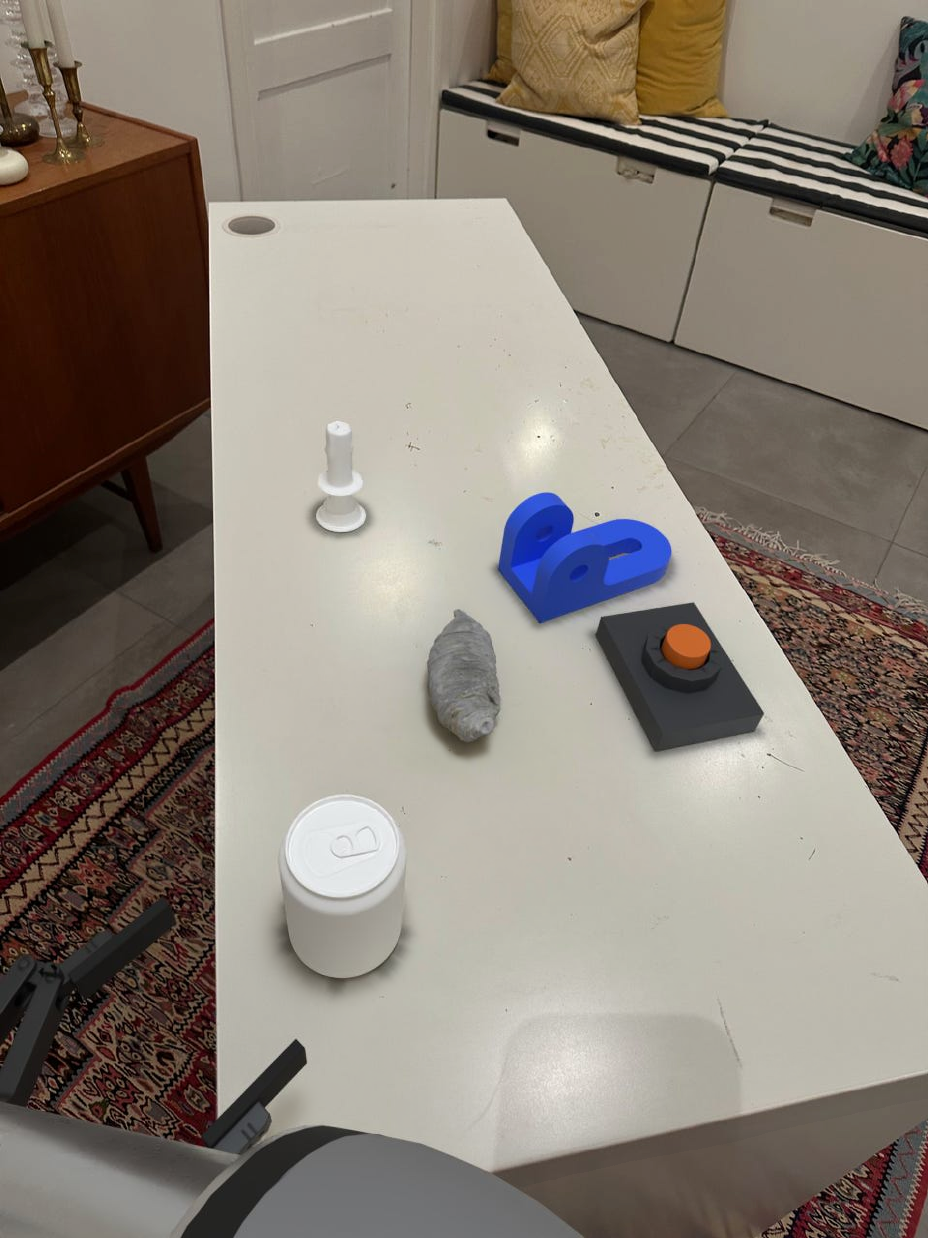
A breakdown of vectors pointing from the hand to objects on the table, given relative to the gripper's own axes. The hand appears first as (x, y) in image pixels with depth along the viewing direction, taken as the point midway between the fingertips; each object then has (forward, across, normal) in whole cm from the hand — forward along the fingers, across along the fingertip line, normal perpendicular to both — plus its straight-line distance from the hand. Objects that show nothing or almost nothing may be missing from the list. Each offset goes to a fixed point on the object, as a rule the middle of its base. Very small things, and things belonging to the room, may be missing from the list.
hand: (233, 976), depth 52 cm
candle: (+40, -33, -8) cm, 53 cm away
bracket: (+53, -9, -8) cm, 55 cm away
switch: (+46, +5, -4) cm, 47 cm away
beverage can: (+9, 0, -8) cm, 12 cm away
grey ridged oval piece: (+31, -8, -8) cm, 33 cm away
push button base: (+46, +5, -8) cm, 47 cm away
